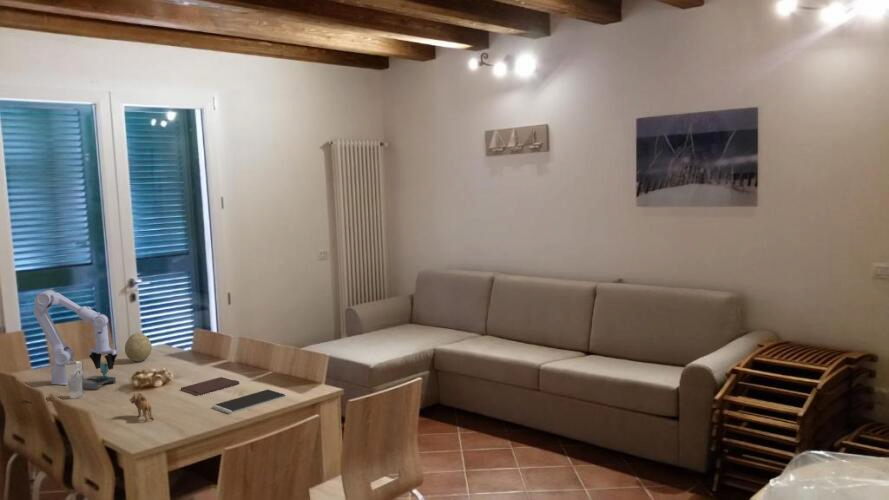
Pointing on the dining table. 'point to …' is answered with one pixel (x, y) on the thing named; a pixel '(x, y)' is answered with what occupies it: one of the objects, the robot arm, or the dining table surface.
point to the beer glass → (74, 379)
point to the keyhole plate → (97, 382)
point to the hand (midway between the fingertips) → (104, 368)
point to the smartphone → (248, 401)
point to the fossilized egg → (138, 347)
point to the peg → (104, 369)
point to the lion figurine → (142, 405)
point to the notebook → (210, 386)
